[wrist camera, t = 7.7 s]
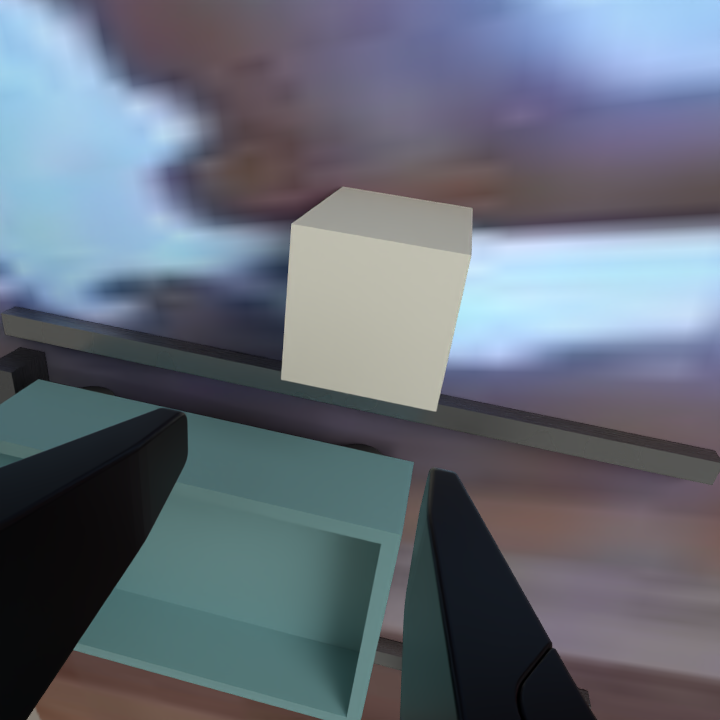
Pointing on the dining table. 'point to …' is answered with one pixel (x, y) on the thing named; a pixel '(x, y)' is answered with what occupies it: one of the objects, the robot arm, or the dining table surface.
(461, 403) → the cart rails
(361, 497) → the teal tray
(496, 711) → the robot arm
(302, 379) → the part block
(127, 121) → the dining table surface
